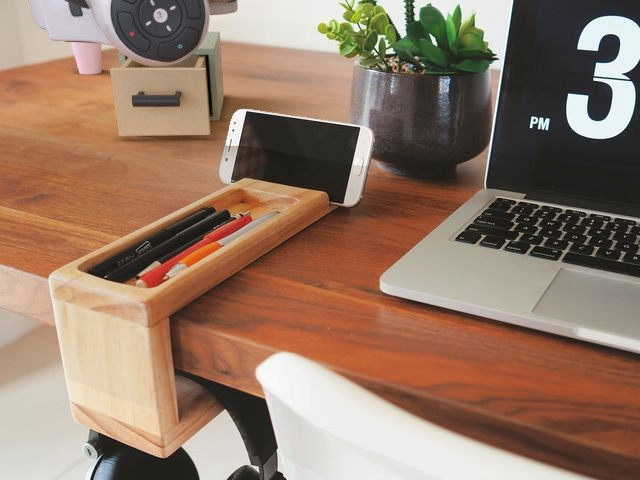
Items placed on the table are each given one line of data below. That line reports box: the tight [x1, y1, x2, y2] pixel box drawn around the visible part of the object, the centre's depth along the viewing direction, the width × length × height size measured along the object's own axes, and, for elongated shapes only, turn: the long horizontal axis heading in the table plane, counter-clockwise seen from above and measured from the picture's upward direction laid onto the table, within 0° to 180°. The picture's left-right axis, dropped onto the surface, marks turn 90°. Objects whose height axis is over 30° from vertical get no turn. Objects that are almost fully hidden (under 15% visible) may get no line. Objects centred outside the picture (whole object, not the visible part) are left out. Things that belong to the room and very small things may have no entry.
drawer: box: [109, 55, 211, 137], centre depth 95 cm, size 18×11×8 cm, turn 7°
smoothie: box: [70, 42, 102, 75], centre depth 125 cm, size 6×6×14 cm
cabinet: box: [117, 31, 225, 122], centre depth 105 cm, size 15×13×10 cm
